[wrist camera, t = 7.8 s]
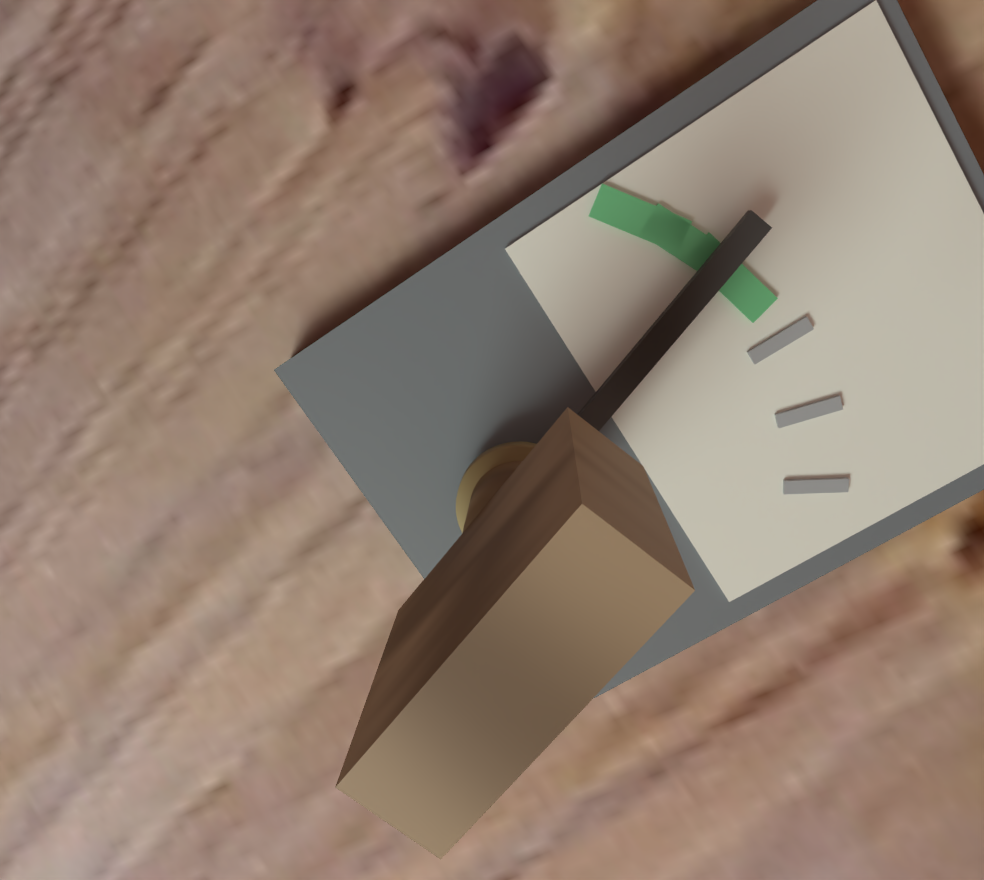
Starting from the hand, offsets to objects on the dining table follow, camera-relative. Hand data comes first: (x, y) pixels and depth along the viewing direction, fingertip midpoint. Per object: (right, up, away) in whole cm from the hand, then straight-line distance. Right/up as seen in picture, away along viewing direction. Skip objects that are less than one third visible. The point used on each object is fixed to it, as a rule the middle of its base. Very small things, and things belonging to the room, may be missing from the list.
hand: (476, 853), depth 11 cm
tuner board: (+6, +7, +15) cm, 17 cm away
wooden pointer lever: (+3, +6, +13) cm, 14 cm away
